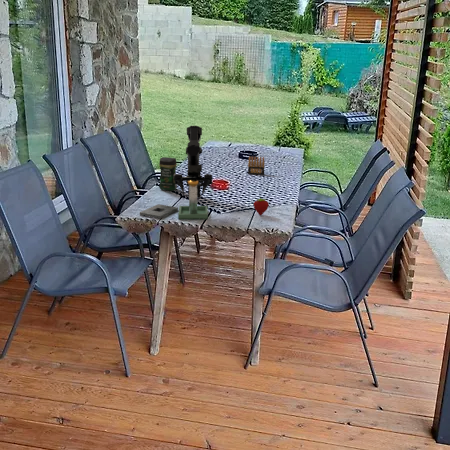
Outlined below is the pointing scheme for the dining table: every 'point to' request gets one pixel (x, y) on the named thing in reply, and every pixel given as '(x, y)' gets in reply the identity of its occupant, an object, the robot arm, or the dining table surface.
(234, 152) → the dining table surface
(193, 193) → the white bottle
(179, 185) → the robot arm
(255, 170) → the ammunition clip
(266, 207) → the strawberry
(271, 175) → the dining table surface
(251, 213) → the dining table surface
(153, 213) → the plate
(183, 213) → the parts tray
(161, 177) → the coffee jar
